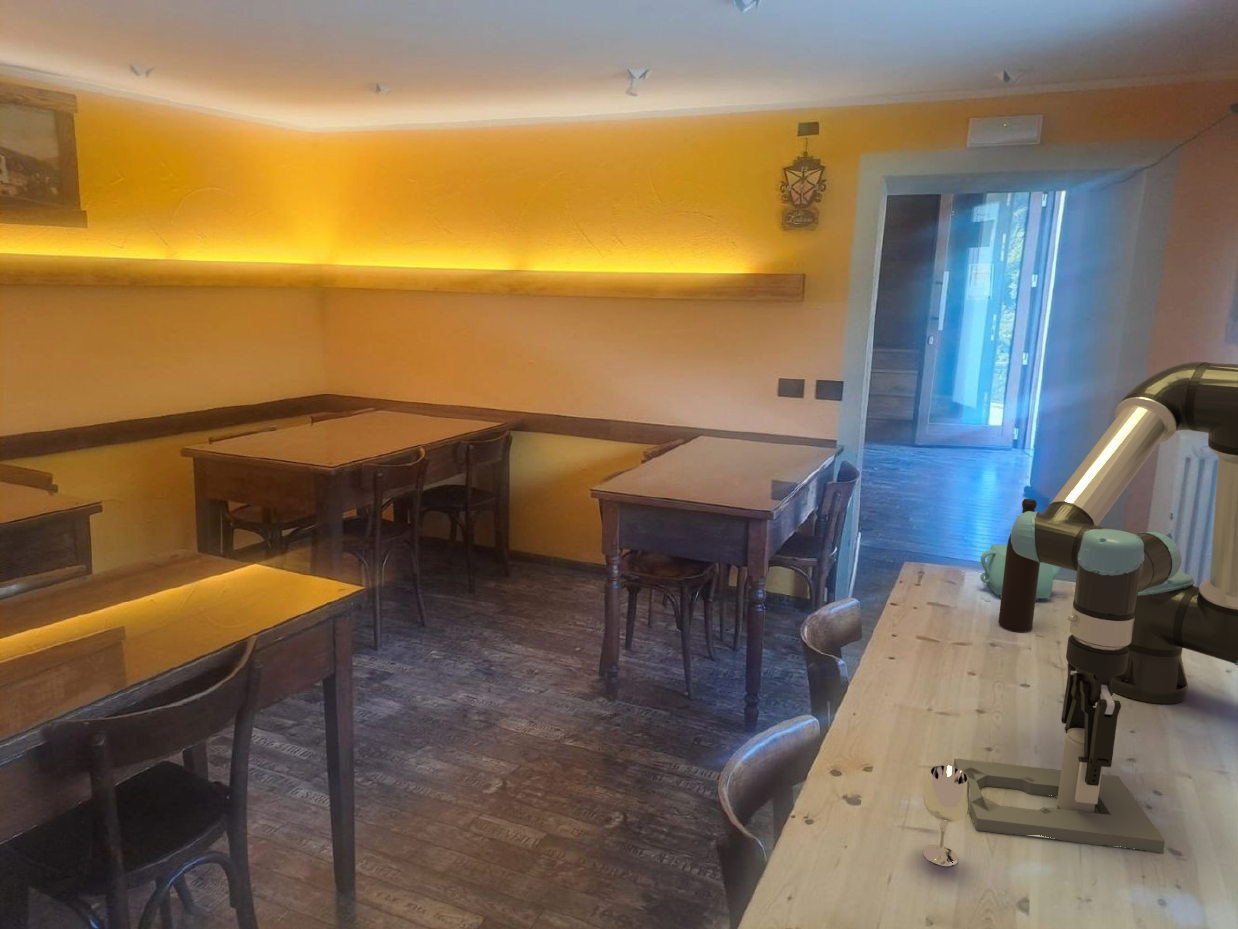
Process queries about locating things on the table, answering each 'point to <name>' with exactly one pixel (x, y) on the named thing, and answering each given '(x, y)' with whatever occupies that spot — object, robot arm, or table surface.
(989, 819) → the flat rectangular frame
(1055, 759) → the table surface
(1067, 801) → the beverage can
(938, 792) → the wineglass
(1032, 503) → the wine bottle
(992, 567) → the teapot
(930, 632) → the table surface
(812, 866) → the table surface
